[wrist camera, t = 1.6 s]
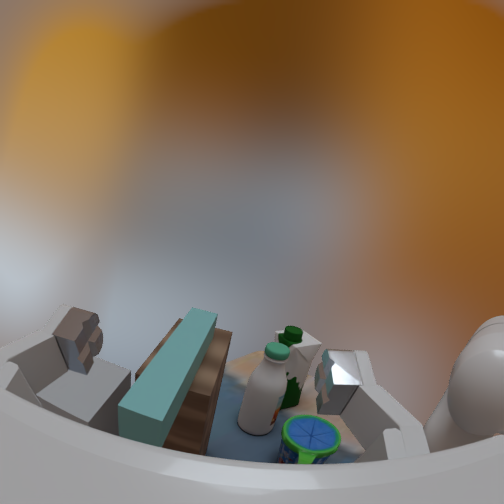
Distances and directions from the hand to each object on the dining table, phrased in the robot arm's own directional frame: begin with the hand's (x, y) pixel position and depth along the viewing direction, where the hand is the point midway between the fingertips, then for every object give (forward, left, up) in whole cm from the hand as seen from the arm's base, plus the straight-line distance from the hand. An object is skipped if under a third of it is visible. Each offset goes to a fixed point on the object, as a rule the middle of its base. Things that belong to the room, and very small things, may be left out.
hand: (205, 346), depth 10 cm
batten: (+17, -5, -14) cm, 23 cm away
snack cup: (+19, -30, -40) cm, 54 cm away
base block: (+28, +6, -40) cm, 50 cm away
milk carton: (+40, -38, -40) cm, 68 cm away
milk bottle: (+33, -28, -40) cm, 59 cm away
